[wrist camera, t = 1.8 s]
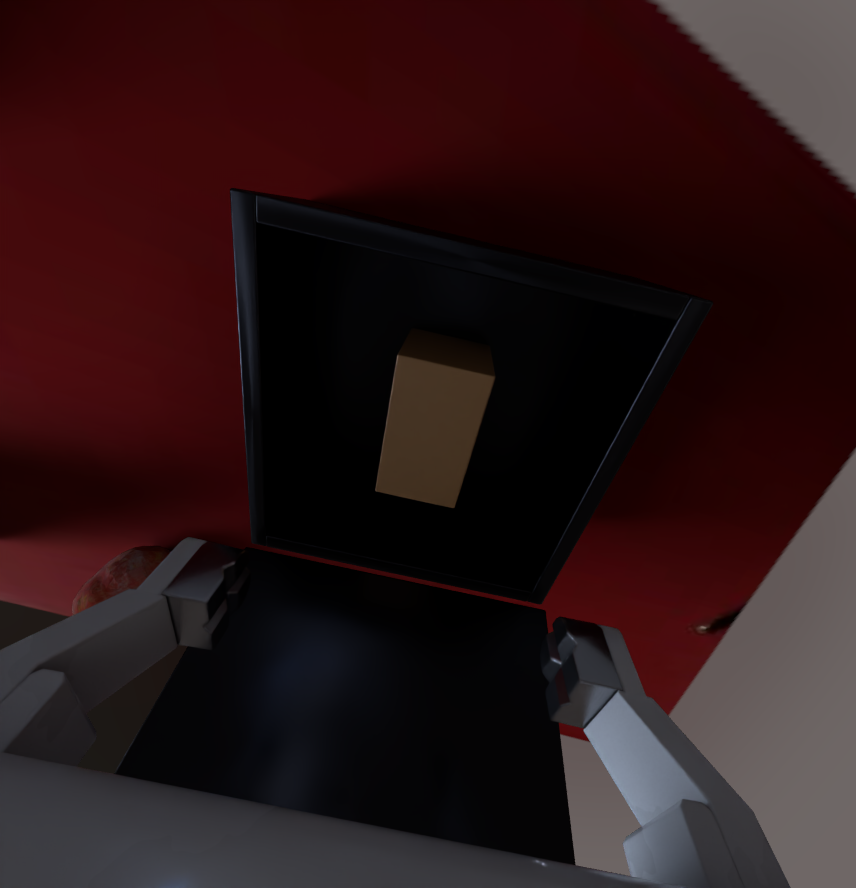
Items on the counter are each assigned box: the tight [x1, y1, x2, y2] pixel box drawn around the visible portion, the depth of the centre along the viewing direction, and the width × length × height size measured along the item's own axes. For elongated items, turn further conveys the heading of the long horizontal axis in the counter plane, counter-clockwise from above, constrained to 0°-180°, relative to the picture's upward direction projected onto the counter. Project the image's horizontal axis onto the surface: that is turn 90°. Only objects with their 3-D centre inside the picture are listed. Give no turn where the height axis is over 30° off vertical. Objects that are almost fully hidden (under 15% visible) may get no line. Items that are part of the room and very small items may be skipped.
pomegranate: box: [72, 546, 170, 615], centre depth 28 cm, size 7×7×10 cm
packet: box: [375, 328, 496, 508], centre depth 18 cm, size 7×4×4 cm, turn 169°
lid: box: [114, 547, 575, 865], centre depth 14 cm, size 16×16×5 cm
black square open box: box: [230, 188, 713, 604], centre depth 18 cm, size 16×16×6 cm
